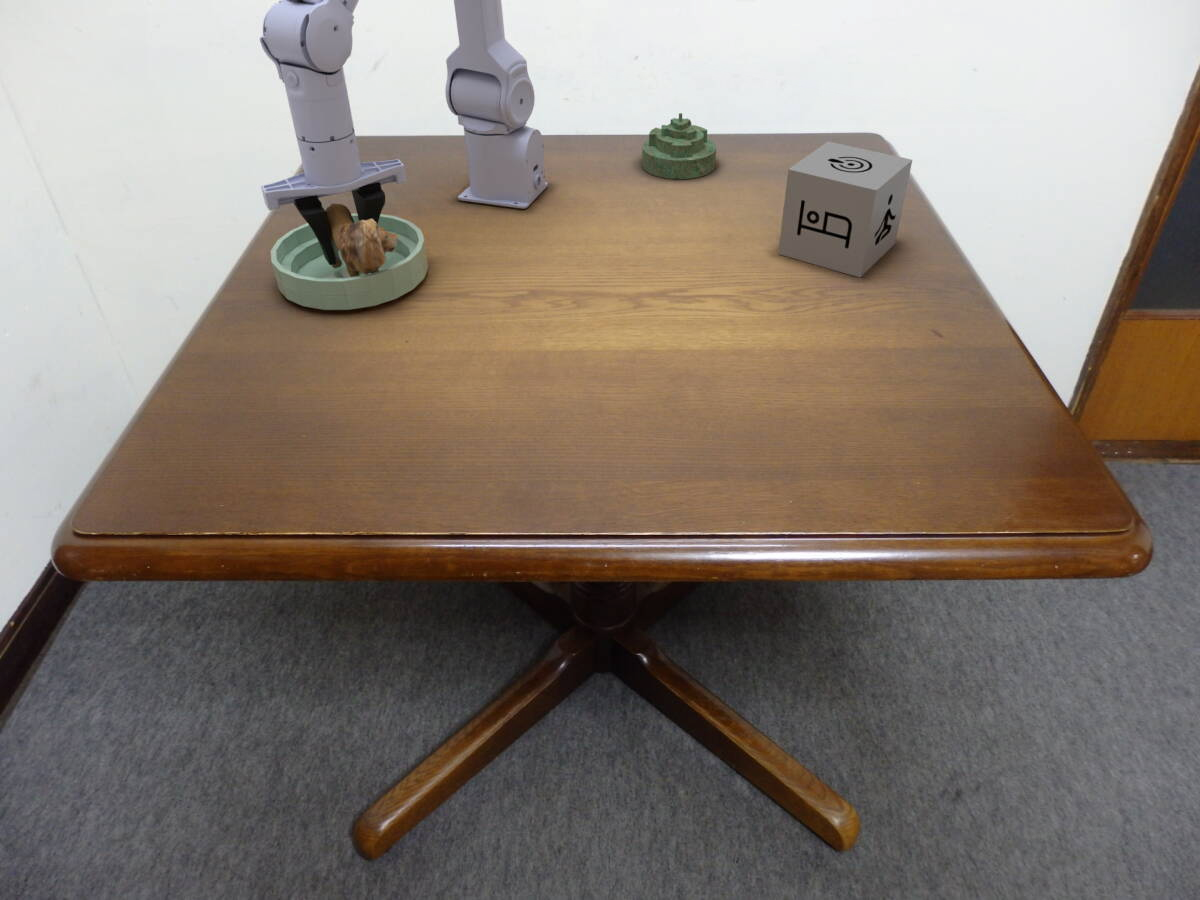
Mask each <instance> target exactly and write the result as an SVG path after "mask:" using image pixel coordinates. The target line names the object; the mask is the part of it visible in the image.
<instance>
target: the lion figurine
mask: <svg viewBox="0 0 1200 900" xmlns="http://www.w3.org/2000/svg"><path fill="white" fill-rule="evenodd" d="M324 210H325V211H326V213H327V222H328V229H329V235H330V240H331V244H332V247H333V251H334V254H335V258H336V264H334V265H332V267H333V268H339V267H341V266H342V261H341V259H340V256H339V251H340V254H341V256H342V258H343V260H344V262H345V264H346V268H347V271H348V273H349V275H350V277H355V276H359V272H361V273H363V274H366V275H367V274H369V273H374V272H377V271H379V267H381V266H382V265H383V263H384V262H385V261H386V255H385V253H386V252H391V253H393V252H395V246H396V244H397V239H398V235H397V234H393V233H389V232H387V231H385V229H384V228H381V227H378V225H377V223H376V221H374V219H368V220H361V221H358V222H356V223H354V220H353V217H352V215H351V214H352V213H351V211H350V209H349V208H348V207H347V206H346V205H345V204H342V203H335V202H333V203H331V204H329V206H328V207H327V208H326V209H324Z"/></svg>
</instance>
